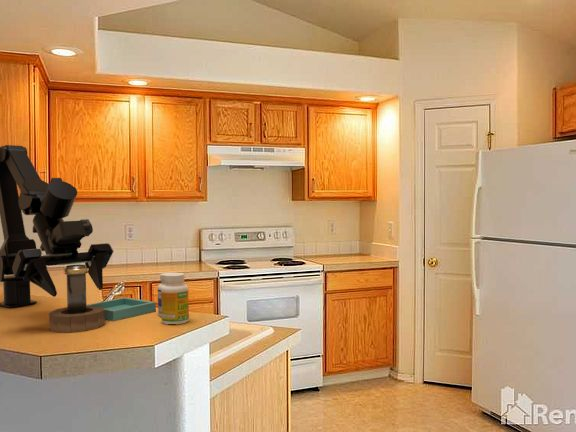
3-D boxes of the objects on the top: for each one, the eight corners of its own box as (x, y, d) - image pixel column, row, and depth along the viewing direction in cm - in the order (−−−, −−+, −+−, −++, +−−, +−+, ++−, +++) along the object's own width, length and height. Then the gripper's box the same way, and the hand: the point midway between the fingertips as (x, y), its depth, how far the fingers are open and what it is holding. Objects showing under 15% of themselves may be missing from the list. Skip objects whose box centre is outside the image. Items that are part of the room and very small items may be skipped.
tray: (82, 314, 114) (82, 305, 114) (125, 305, 123) (125, 297, 123) (113, 320, 108) (113, 311, 108) (155, 311, 117) (155, 302, 116)
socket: (39, 327, 103) (39, 312, 103) (85, 317, 111) (85, 303, 111) (68, 335, 97) (67, 318, 97) (114, 324, 105) (114, 309, 105)
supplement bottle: (180, 325, 103) (179, 276, 102) (156, 324, 104) (155, 275, 104) (193, 319, 108) (192, 272, 107) (170, 318, 110) (169, 271, 109)
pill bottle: (186, 312, 115) (185, 271, 115) (179, 317, 110) (178, 275, 110) (162, 311, 116) (161, 271, 115) (154, 317, 111) (153, 275, 110)
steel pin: (61, 326, 104) (60, 266, 103) (81, 322, 107) (79, 263, 106) (73, 329, 101) (72, 267, 101) (93, 325, 104) (91, 265, 104)
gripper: (15, 207, 99) (40, 270, 92) (107, 205, 113) (136, 260, 106) (2, 247, 105) (25, 309, 98) (91, 240, 119) (117, 294, 111)
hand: (79, 291), depth 103 cm, fingers open, 9 cm apart
